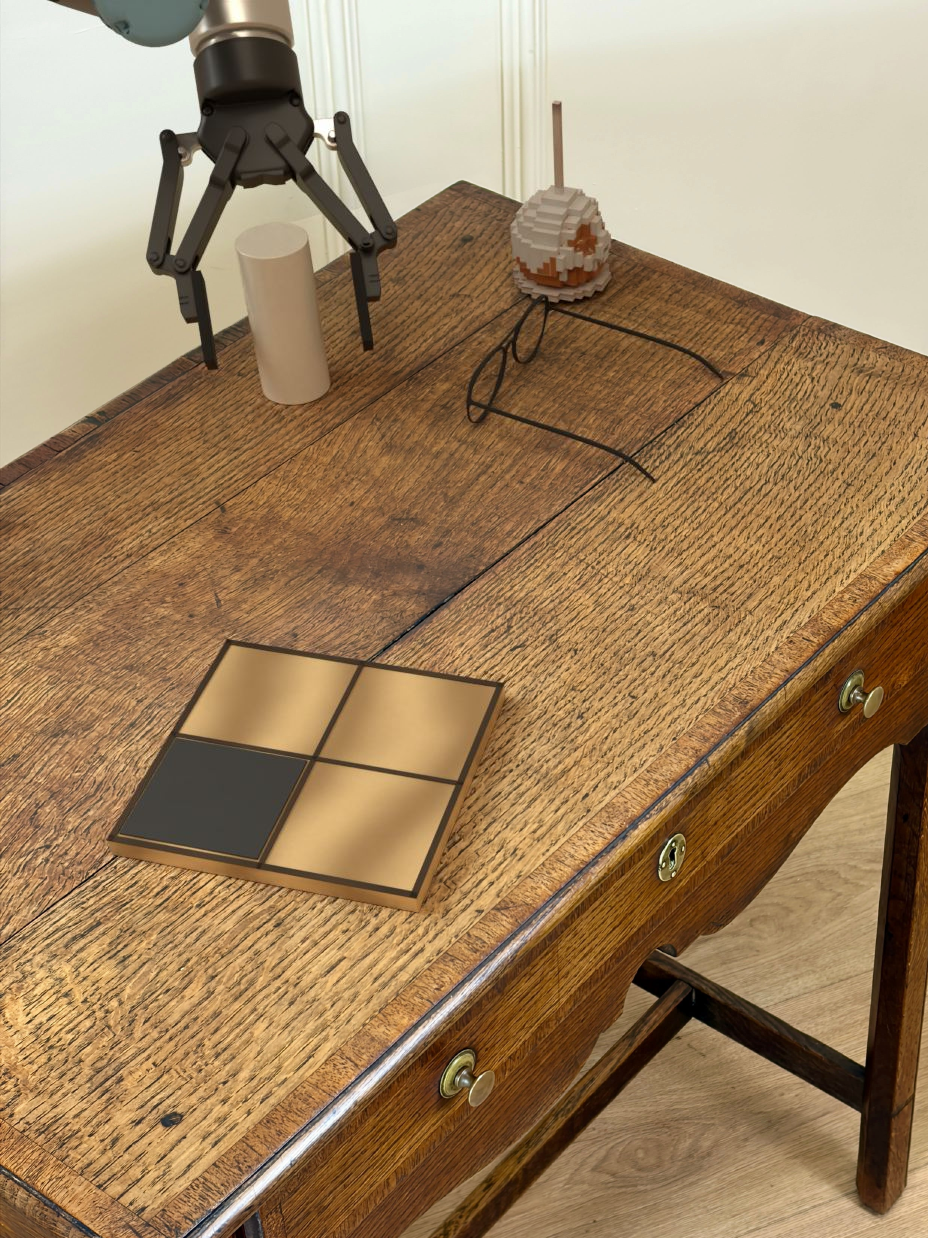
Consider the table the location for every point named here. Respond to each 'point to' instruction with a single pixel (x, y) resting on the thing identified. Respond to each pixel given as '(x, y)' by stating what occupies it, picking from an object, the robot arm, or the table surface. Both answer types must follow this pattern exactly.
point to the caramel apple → (560, 237)
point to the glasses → (514, 341)
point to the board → (313, 774)
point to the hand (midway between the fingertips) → (290, 356)
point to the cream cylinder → (283, 312)
